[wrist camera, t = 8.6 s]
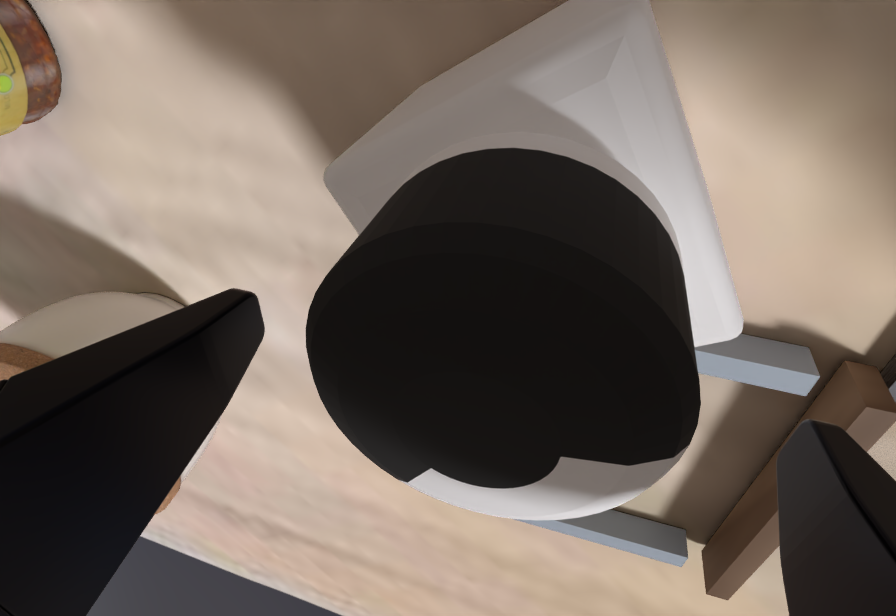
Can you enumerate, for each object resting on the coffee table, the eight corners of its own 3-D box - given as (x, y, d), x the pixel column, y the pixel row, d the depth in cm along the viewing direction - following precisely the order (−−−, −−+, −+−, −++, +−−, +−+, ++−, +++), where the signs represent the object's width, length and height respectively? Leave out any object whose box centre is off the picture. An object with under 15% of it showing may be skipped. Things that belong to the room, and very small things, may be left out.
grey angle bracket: (808, 347, 18) (829, 398, 16) (679, 539, 27) (682, 587, 25) (470, 279, 21) (454, 317, 19) (452, 476, 29) (440, 516, 28)
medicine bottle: (414, 88, 17) (156, 308, 8) (636, -41, 13) (649, 82, 4) (509, 263, 20) (406, 570, 11) (710, 197, 16) (813, 570, 7)
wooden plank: (876, 366, 18) (902, 414, 16) (721, 556, 27) (727, 600, 25) (844, 360, 18) (866, 407, 16) (701, 551, 27) (706, 593, 25)
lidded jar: (172, 409, 34) (50, 544, 27) (49, 275, 28) (-144, 399, 21) (296, 397, 29) (188, 556, 22) (177, 234, 24) (-17, 375, 17)
